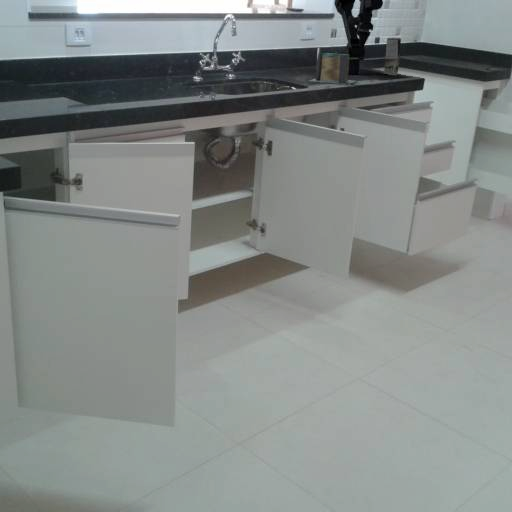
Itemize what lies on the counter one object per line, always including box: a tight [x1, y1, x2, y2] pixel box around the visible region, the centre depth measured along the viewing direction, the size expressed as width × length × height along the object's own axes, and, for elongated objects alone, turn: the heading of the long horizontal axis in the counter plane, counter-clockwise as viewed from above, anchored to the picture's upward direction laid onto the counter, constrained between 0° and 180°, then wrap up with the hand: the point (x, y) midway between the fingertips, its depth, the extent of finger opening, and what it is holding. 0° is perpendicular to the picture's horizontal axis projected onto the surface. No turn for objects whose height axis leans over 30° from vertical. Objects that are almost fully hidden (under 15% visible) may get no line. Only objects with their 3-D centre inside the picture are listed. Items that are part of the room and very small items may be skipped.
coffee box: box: [383, 37, 402, 76], centre depth 334 cm, size 9×6×16 cm
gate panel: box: [321, 52, 349, 81], centre depth 302 cm, size 12×1×11 cm, turn 67°
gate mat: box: [308, 77, 357, 85], centre depth 307 cm, size 18×11×1 cm, turn 67°
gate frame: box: [315, 47, 349, 84], centre depth 302 cm, size 14×2×14 cm, turn 59°
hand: (361, 48), depth 317 cm, fingers closed
